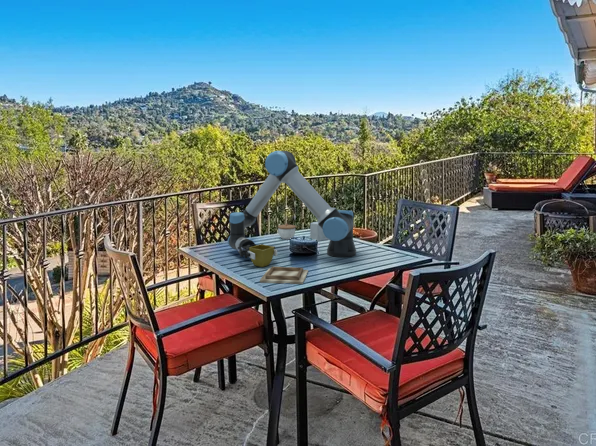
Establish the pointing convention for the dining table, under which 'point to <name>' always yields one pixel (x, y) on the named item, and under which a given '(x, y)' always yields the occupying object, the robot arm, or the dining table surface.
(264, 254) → the flower pot
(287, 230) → the lidded jar
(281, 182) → the robot arm
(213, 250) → the dining table surface
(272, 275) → the birch tray
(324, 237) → the skincare box
